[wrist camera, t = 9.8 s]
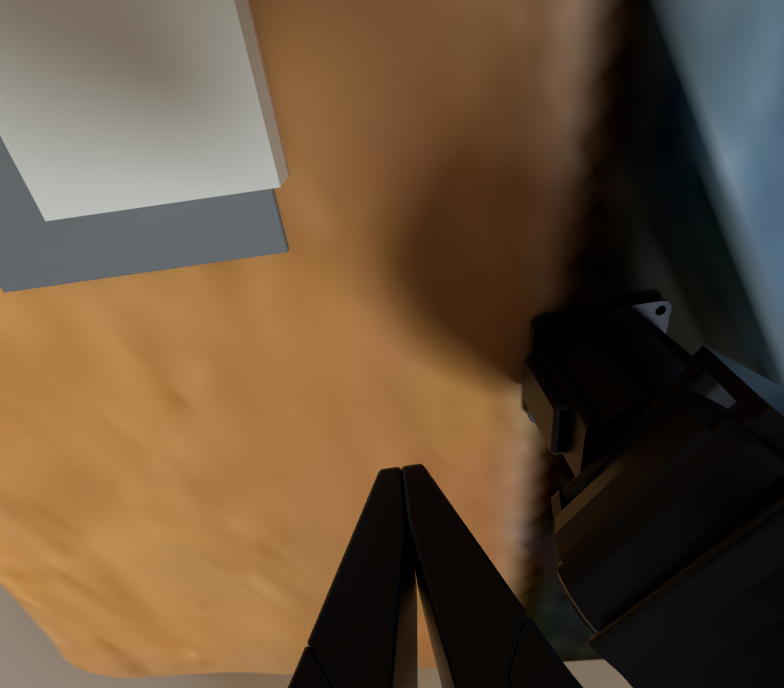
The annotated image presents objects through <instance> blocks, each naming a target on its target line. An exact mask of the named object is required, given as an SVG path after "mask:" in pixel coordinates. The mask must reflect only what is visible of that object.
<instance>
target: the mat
mask: <svg viewBox="0 0 784 688" xmlns="http://www.w3.org/2000/svg"><path fill="white" fill-rule="evenodd" d="M288 250H289V247H288V243H287V239H286V235H285V231H284V228H283V224H282V220H281V216H280V212H279V208H278V204H277V200H276V196H275V192H274V188H272V189H265V190H258V191H252V192H245V193H238V194H231V195H224V196H217V197H210V198H203V199H196V200H189V201H182V202H176V203H169V204H162V205H155V206H148V207H141V208H134V209H127V210H120V211H113V212H107V213H100V214H93V215H86V216H79V217H72V218H65V219H58V220H51V221H45V219H44V217H43V215H42V214H41V212H40V210H39V208H38V206H37V204H36V202H35V200H34V199H33V197H32V195H31V193H30V191H29V189H28V187H27V185H26V183H25V182H24V180H23V178H22V176H21V174H20V172H19V170H18V168H17V167H16V165H15V163H14V161H13V159H12V157H11V155H10V153H9V151H8V150H7V148H6V146H5V144H4V142H3V140H2V138H1V136H0V287H1V288H2V290H3V292H11V291H18V290H25V289H32V288H39V287H46V286H53V285H60V284H67V283H74V282H81V281H88V280H95V279H102V278H109V277H116V276H123V275H130V274H137V273H144V272H151V271H158V270H165V269H172V268H179V267H186V266H193V265H200V264H207V263H214V262H221V261H228V260H235V259H242V258H249V257H256V256H263V255H270V254H277V253H284V252H288Z"/></svg>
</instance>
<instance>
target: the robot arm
mask: <svg viewBox="0 0 784 688" xmlns="http://www.w3.org/2000/svg"><path fill="white" fill-rule="evenodd" d="M659 306H661V308H660V309H659V310H658V311H656V309H657V308H658V307H659ZM670 313H671V304H670V303H669V302H668V301H667V300H665V299H663V298H661V297H657V298H650V299H643V300H636V301H628V302H621V303H614V304H607V305H600V306H593V307H586V308H579V309H572V310H565V311H557V312H550V313H543V314H539V315H537V316H536V317H534V319H533V320H532V322H531V335H530V355H529V356H527V357H526V359H525V360H524V380H523V400H524V402H525V403H526V405H527V414H528V417H529V419H530V420H531V422H533V423H536V425H537V427H538V429H539V431H540V433H541V435H542V437H543V439H544V441H545V443H546V445H547V446H548V448H549V450H550V451H551V452H552V453H553V454H555V455H557V454H564V456H565V458H566V460H567V462H568V464H569V465H570V467H571V469H572V471H573V473H574V475H575V477H576V478H575V479H574V480H573V481H572V482H571V483H570V484H569V485H568V486H567V487H566V488H565V489H564V490H559V491H558V492H557V493H556V494H555V495H554V496H553V497H552V499H551V500H552V509H553V517H554V526H555V532H554V535H555V539H556V543H557V551H558V560H559V564H558V565H557V572H558V576H559V578H560V580H561V582H562V584H563V587H564V589H565V592H566V595H567V597H568V599H569V600H570V602H571V604H572V606H573V608H574V609H575V611H576V612H577V614H578V615H579V617H580V618H581V619H582V621H583V622H584V623H585V625H586V626H587V627H588V628H589V629H590V630H591V631H592V632H593V634H594V635H593V636H592V637H591V638H590V639H589V640H590V644H591V647H592V648H593V649H594V650H595V651H596V652H597V653H598V654H599V655H600V656H601V657H602V658H603V659H605V660H606V661H607V662H608V663H609V664H610V665H611V666H613V667H614V668H615V669H616V670H617V671H618V672H619V673H620V674H621V675H622V676H623V677H624V678H625V679H626V680H627V681H628V683H629V684H630V685H631V686H632V687H633V688H784V388H782V387H780V386H778V385H777V384H775V383H773V382H771V381H769V380H768V379H766V378H764V377H762V376H760V375H758V374H757V373H755V372H753V371H751V370H749V369H748V368H746V367H744V366H742V365H740V364H738V363H737V362H735V361H733V360H731V359H729V358H728V357H726V356H724V355H722V354H720V353H718V352H717V351H715V350H713V349H711V348H709V347H708V346H706V345H703V346H702V347H701V348H700V349H699V350H698V351H697V352H696V353H695V354H694V355H693V356H692V355H690V354H689V353H688V352H687V351H686V350H684V349H683V348H682V347H681V346H680V345H678V344H677V343H676V342H675V341H674V340H672V339H671V338H670V337H669V336H668V335H666V331H667V326H668V322H669V317H670ZM544 322H547V323H546V325H545V326H544V327H541V328H540V327H539V326H540V324H541V323H544ZM415 573H416V575H415ZM416 579H417V585H418V590H419V594H420V599H421V603H422V607H423V611H424V615H425V619H426V624H427V628H428V632H429V636H430V640H431V644H432V648H433V652H434V656H435V661H436V665H437V669H438V673H439V677H440V681H441V685H442V688H583V687H582V686H581V685H580V683H579V682H578V681H577V680H576V678H575V677H574V676H573V675H572V674H571V672H570V671H569V670H568V668H567V667H566V666H565V664H564V663H563V661H562V660H561V659H560V657H559V656H558V655H557V653H556V652H555V651H554V649H553V648H552V647H551V645H550V644H549V643H548V641H547V640H546V639H545V637H544V636H543V634H542V633H541V631H540V630H539V629H538V627H537V626H536V624H535V623H534V621H533V620H532V619H531V617H527V612H526V610H525V609H524V608H523V606H522V605H521V603H520V602H519V601H518V599H517V598H516V596H515V595H514V593H513V592H512V591H511V589H510V588H509V586H508V585H507V583H506V582H505V581H504V579H503V578H502V576H501V575H500V573H499V572H498V571H497V569H496V568H495V566H494V565H493V563H492V562H491V561H490V559H489V558H488V556H487V555H486V553H485V552H484V551H483V549H482V548H481V546H480V545H479V543H478V542H477V541H476V539H475V538H474V536H473V535H472V534H471V532H470V531H469V529H468V528H467V526H466V525H465V524H464V522H463V521H462V519H461V518H460V516H459V515H458V514H457V512H456V511H455V509H454V508H453V506H452V505H451V504H450V502H449V501H448V499H447V498H446V496H445V495H444V494H443V492H442V491H441V489H440V488H439V486H438V485H437V484H436V482H435V481H434V479H433V478H432V476H431V475H430V474H429V472H428V471H427V469H426V468H425V467H424V466H423V465H422V464H415V465H407V466H404V467H402V471H401V469H400V468H399V467H393V468H386V469H381V470H380V471H379V473H378V475H377V477H376V479H375V482H374V484H373V487H372V489H371V491H370V494H369V496H368V498H367V501H366V503H365V506H364V508H363V510H362V513H361V515H360V518H359V520H358V522H357V525H356V527H355V530H354V532H353V534H352V537H351V539H350V541H349V544H348V546H347V549H346V551H345V553H344V556H343V558H342V561H341V563H340V565H339V568H338V570H337V572H336V575H335V577H334V580H333V582H332V584H331V587H330V589H329V592H328V594H327V596H326V599H325V601H324V604H323V606H322V608H321V611H320V613H319V615H318V618H317V620H316V623H315V625H314V627H313V630H312V632H311V635H310V637H309V639H308V646H309V647H308V646H307V647H305V648H304V651H303V653H302V656H301V658H300V660H299V663H298V665H297V667H296V670H295V672H294V674H293V677H292V679H291V681H290V683H289V686H288V688H418V675H417V673H418V665H417V587H416Z"/></svg>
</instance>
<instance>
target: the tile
mask: <svg viewBox="0 0 784 688" xmlns="http://www.w3.org/2000/svg"><path fill="white" fill-rule="evenodd" d="M0 136H1V138H2V140H3V142H4V144H5V146H6V148H7V150H8V151H9V153H10V155H11V157H12V159H13V161H14V163H15V165H16V167H17V168H18V170H19V172H20V174H21V176H22V178H23V180H24V182H25V183H26V185H27V187H28V189H29V191H30V193H31V195H32V197H33V199H34V200H35V202H36V204H37V206H38V208H39V210H40V212H41V214H42V215H43V217H44V219H45V221H51V220H58V219H65V218H72V217H79V216H86V215H93V214H100V213H107V212H113V211H120V210H127V209H134V208H141V207H148V206H155V205H162V204H169V203H176V202H182V201H189V200H196V199H203V198H210V197H217V196H224V195H231V194H238V193H245V192H252V191H258V190H265V189H272V188H279V187H281V186H282V184H283V183H284V182H285V180H286V179H287V177H288V176H289V174H290V172H289V168H288V164H287V160H286V155H285V151H284V147H283V142H282V138H281V134H280V129H279V125H278V121H277V117H276V112H275V108H274V104H273V99H272V95H271V91H270V86H269V82H268V78H267V73H266V69H265V65H264V61H263V56H262V52H261V48H260V43H259V39H258V35H257V30H256V26H255V22H254V18H253V13H252V9H251V5H250V0H0Z"/></svg>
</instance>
